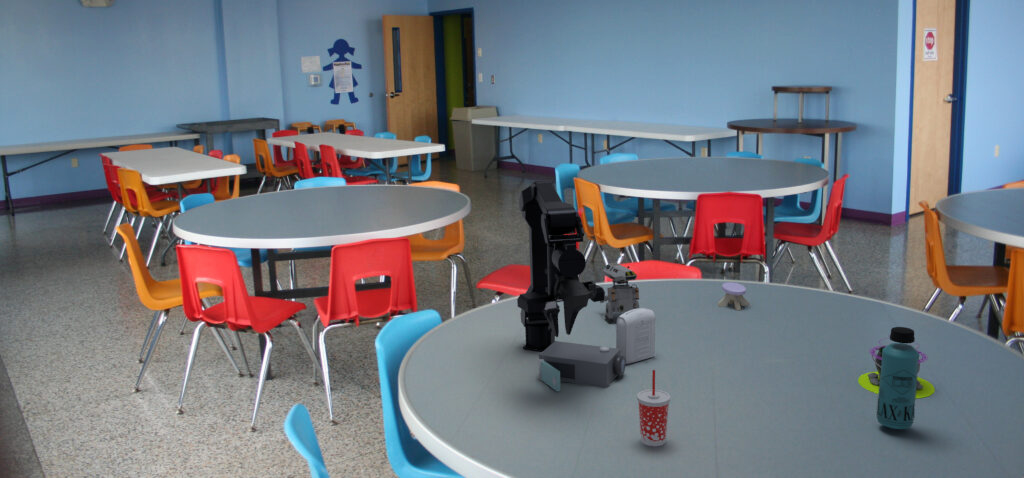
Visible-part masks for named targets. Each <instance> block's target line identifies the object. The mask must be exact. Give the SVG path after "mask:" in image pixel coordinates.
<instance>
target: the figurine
mask: <svg viewBox="0 0 1024 478" xmlns="http://www.w3.org/2000/svg"><path fill="white" fill-rule="evenodd" d="M630 268H631V267H630V266H629V265H627V267H626V266H624V265H621V264H620V263H618V262H609V263H608V264H607V265H605V267H604V268H603V269H602V274H603V276H605V277H607V278H609V279H611V280H612V286H611V287H607V288H606V290H607V291H606V292H607V295H605V300H604V301H599V303H600V304H603V303H605V302H606V303H605V312H604V313H605V314H604V319H605V321H606V322H607V323H608V324H613V323H614V318H613V315H614V314H613V313H625V312H627V311H630V310H633V309H638V308H640V304H639V300H640V293H639V292H640V291H639V290H640V289H639V287H638V286H637V285H636V284H632V285H631V286H630V284H629V282H630V281H636V280H637V277H638V274H636V273H635V271H634V270H632V269H630ZM633 286H635V287H633Z"/></svg>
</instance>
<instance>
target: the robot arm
mask: <svg viewBox="0 0 1024 478" xmlns="http://www.w3.org/2000/svg"><path fill="white" fill-rule="evenodd" d="M518 206H519V208H518V209H519V211H520V212H521V217H522V218H523V220H524V221H525V223H526V225H527V226H528V237H529V239H528V241H529V242H528V243H529V271H530V273H529V274H530V275H529V276H530V277H529V278H530V285H529V287H527V289H526V292H525V293H520V294H519V295H518V297H517V300H516V301H517V305H516V306H517V307H518V308H520V309H521V310H520V321H521V322H520V323H521V324H522V326H523V327H524V329H525V331H524V332H525V333H524V334H525V345H523V347H522V349H524V350H531V351H540V352H543V351H544V350H545V349H547V348H548V347H549V346H550V345H551V344H552V343H554V342H555V341H556V338H558V337H559V335H560V334H559V331H560V330H559V313H560V311H561V309H560V306H559V304H558V303H561V302H563V313H564V314H563V318H564V328H565V333H566V335H568V336H570V335H571V333H572V330H573V328H574V325H575V321H576V320H577V317H578V316H579V315H578V314H579V312H580V311H581V310H583V309H584V308H586V307H587V306H588V304H589V300H590V301H591V302H593V303H596V302H600V301H604V300H605V296H606V291H605V289H604V288H603V287H602V286H600V285H598V284H596V282H595V281H594V280H588V281H580V279H579V275H580V276H581V274H582V273H583V272H584V270H585V269H586V265H587V260H586V258H585V256H584V254H583V253H582V252H581V251H580V250H579V249H578V248H577V243H582V242H583V243H584V236H585V231H584V229H585V228H584V226H583V221H582V217H581V216H580V214H579V212H578V211H577V210H576V208H575V206H573V205H572V204H571V203H567V202H564V201H563V200H562V198H561V197H560V194H559V193H558V191H557V190H556V188H555V182H554V180H550V179H545V180H534V181H532V182H531V183H530V185H529V186H528V187H526V188H525V189H523V190H522V191H521V192H520V195H519V198H518ZM604 302H605V301H604Z"/></svg>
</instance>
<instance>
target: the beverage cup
mask: <svg viewBox="0 0 1024 478" xmlns="http://www.w3.org/2000/svg"><path fill="white" fill-rule="evenodd" d="M651 380H652V381H651V382H652V383H651V385H652V389H644V390H642V391H639V392H638V393H637V394H636V400H637V402H638V413H639V414H638V415H639V417H638V418H639V429H640V430H639V432H640V433H639V434H640V442H641V443H642V444H643V445H646V446H648V447H661V446H663V445H665V444H666V442H667V431H668V430H667V429H668V416H669V404H670V402H671V395H670V394H669V393H668V392H666V391H665V390H660V389H656V370H655V369H653V370H652V379H651Z"/></svg>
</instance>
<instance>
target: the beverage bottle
mask: <svg viewBox="0 0 1024 478" xmlns="http://www.w3.org/2000/svg"><path fill="white" fill-rule="evenodd" d="M915 339H916V337H915V331H914V329H912V328H909V327H906V326H905V327H904V326H893V327H891V329H890V334H889V340H890V341H891V342H893V343H890V344H887V345H885V346H886V347H885V348H883V350H882V353H883V354H882V365H881V376H880V379H879V380H880V381H879V382H880V385H879V394H878V397H877V399H876V400H877V402H876V403H877V408H876V418H877V422H878V423H879V424H881V425H882V426H884V427H887V428H890V429H895V430H897V429H898V430H906V429H910V428H911V427H912V426H913V424H914V423H915V422H914V421H915V419H914V418H915V407H916V400H917V399H915V396H916V393H917V392H916V385H917V379H918V378H917V377H918V374H917V372H918V361H919V360H920V354H919V353H918V349H916V348H915V347H913V345H910V344H912V343H913V344H914V343H915ZM918 373H919V372H918Z"/></svg>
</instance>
